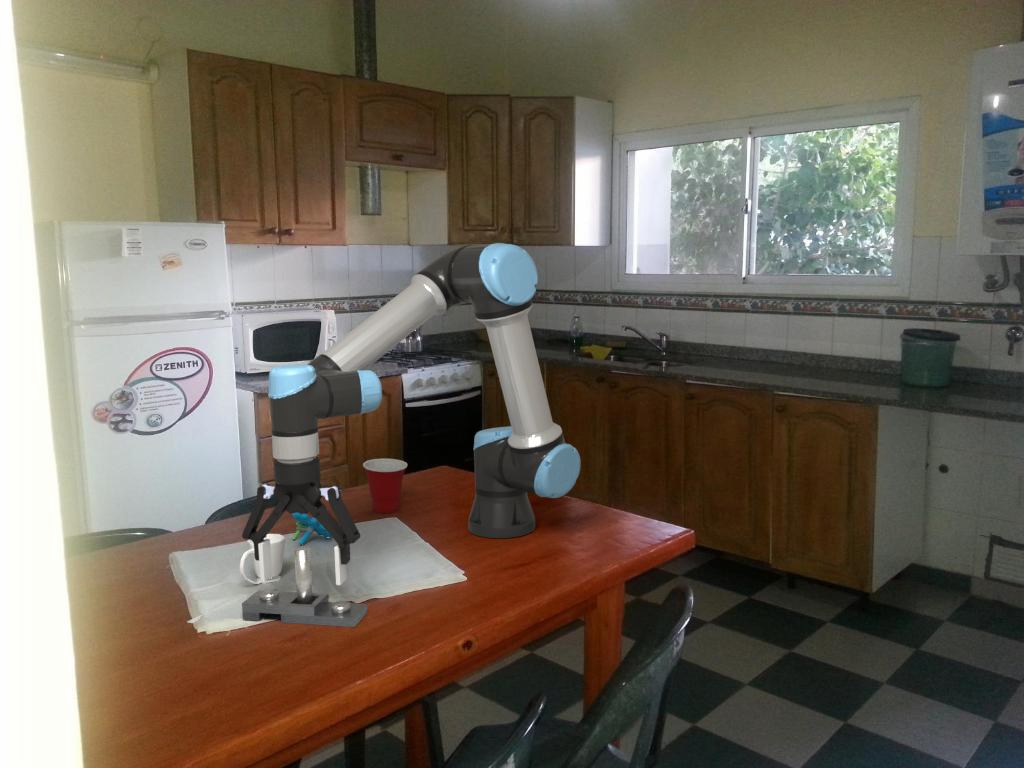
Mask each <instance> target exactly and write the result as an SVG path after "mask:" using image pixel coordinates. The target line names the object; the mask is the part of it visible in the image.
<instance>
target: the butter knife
mask: <svg viewBox="0 0 1024 768" xmlns="http://www.w3.org/2000/svg"><path fill="white" fill-rule="evenodd" d="M237 595H238V596H237ZM237 595H235V596H233V597H230V598H231V599H230V598H229V600H228V599H226V600H227V601H226V600H225V601H223V602H221V603H218V604H217V605H215V606H213V607H214V608H213V607H211V609H212V610H210V609H209V612H210V611H215V610H218V611H220V610H223V609H225V608H227V607H229V606H228V605H230V604H231V603H234V604H236V603H237V602H236V601H238V600H239V599H242V598H244V596H245V595H247V594H246V593H241V594H237ZM244 599H245V598H244ZM242 600H243V599H242ZM235 602H236V603H235ZM238 602H239V601H238ZM226 606H227V607H226ZM230 606H231V605H230ZM224 607H225V608H224ZM222 608H223V609H222ZM219 609H220V610H219ZM209 612H208V613H209ZM204 615H206V614H204ZM201 616H202V615H201V614H199V615H197V616H196V617H194V618H191V619H190V620H187V622H186V623H190V624H193V623H195V622H197V621H199V620H200V617H201ZM198 619H199V620H198Z"/></svg>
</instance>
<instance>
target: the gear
mask: <svg viewBox="0 0 1024 768" xmlns="http://www.w3.org/2000/svg"><path fill="white" fill-rule="evenodd" d="M292 517H293V519H294V520H295V521H296V523H295V526H296V528H295V529H296V532H295V533H294V535H293V536H292V537H291V540H292V539H294V538H296V539H297V537H298V536H299V534H300V533H303V536H302V537H301V539H300V541H299V542H298V545H300V544H303V543H304V544H305V543H306V542H307V539H309V537H310V535H313V533H316V534H317V535H318V536H319V535H323V537H324V536H325V538H326V537H330V538H329V539H333V538H332V536H331V535H330V534H329V533H328V532H327V531H326V529H325V528H324V527H323V526H322V525H321V524H320V522H319V521H318V520H317V519H316V518H315V517H312V518H311V517H310V516H309V514H308V513H307V514H300V513H293V514H292Z"/></svg>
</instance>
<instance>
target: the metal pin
mask: <svg viewBox="0 0 1024 768" xmlns="http://www.w3.org/2000/svg"><path fill="white" fill-rule="evenodd" d="M293 553H294V554H293V556H294V572H295V575H294V576H295V588H296V590H295V592H297V604H309V605H311V604H312V603H313V596H312V593H313V583H312V582H313V581H312V564H311V563H312V562H311V547H310V546H308V545H307V546H306V545H305V546H304V545H303V546H302V545H300V546H297V547H295V548H293Z"/></svg>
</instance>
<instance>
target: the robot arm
mask: <svg viewBox="0 0 1024 768" xmlns="http://www.w3.org/2000/svg"><path fill="white" fill-rule="evenodd" d="M538 284H539V273H538V269H537V266H536V263H535V261H534V259H533V257H532V256H531V254H529V253H528V252H527V251H526V250H525V249H524V248H522V247H520V246H518V245H515V244H511V243H504V242H503V243H502V242H496V243H487V244H486V243H485V244H477V245H475V244H474V245H471V244H470V245H469V244H468V245H462V246H458V247H455V248H453V249H451V250H449V251H447V252H445V253H444V254H442V255H441V256H439V257H437V258H436V259H434V260H433V261H432V262H430V263H429V264H428V265H426V266H425V267H424V268H422V269H421V270H419V271H418V272H417V273H416V274H414V276H412V277H411V280H410V285H409V286H407V287H406V288H405V289H403V290H402V291H401V292H399V293H398V294H397V295H396V296H394V297H393V298H391V300H389V301H388V302H386V303H385V304H384V305H383V306H381V307H380V308H379V309H378V310H376V311H374V313H372V314H371V315H370V316H369V317H367V318H366V319H365V320H363V321H362V322H361V323H359V324H358V325H357V326H356V327H354V328H352V330H351V331H349V332H348V333H346V334H345V335H344V336H343V337H340V339H339V340H337V341H336V342H335V343H333V344H332V345H331V346H330V347H328V348H327V349H326V350H324V351H323V352H322V353H320V354H319V355H318V356H316V357H315V358H314V359H313V360H310V362H308V363H306V364H284V365H279V366H278V365H277V366H275V367H273V368H271V369H270V371H269V373H268V393H267V395H268V398H269V408H270V409H269V410H270V421H271V424H270V425H271V441H272V442H271V443H272V447H271V448H272V458H273V459H275V460H274V461H273V476H274V477H273V478H274V482H275V484H274V485H275V486H271V484H269V483H264V484H262V485H259V487H257V489H256V500H255V502H254V505H253V508H252V510H251V512H250V514H249V517H248V519H247V522H246V524H245V527H244V530H243V531H242V534H241V537H242V539H243V540H252V541H253V543H254V554H255V559H256V560H257V561H259V563H260V579H261V581H266V580H267V579H268V578H270V577H271V576H272V566H271V550H270V539H265V540H264V538H265V537H267V536H266V535H267V534H270V532H271V530H272V529H273V528H274V526H275V525H276V524H277V523H278V521H279V520H280V519H281V518H282V516H283V515H284V514H285V513H286V512H287V513H288V514H289V515H291V514H293V513H300V514H307V515H308V514H310V516H312V518H315V519H317V520H318V521H317V522H318V523H319V524H320V525H322V526H323V527H324V528H325V529H326V531H327V532H328V533H329V534H330V535H331V536H332V538H331V539H333V540H334V542H336V545H335V546H334V547H333V549H334V565H335V566H334V569H335V570H334V571H335V585H336V586H341V585H342V584H343V583H344V582H346V580H347V565H348V564H349V563H350V562H351V544H352V545H353V544H355V543H356V542H357V541H358V540H359V539H360V538H361V533H360V531H359V529H358V528H357V526H356V523H355V521H354V520H353V518H352V516H351V513H350V512H349V510H348V508H347V507H346V505H345V503H344V501H343V498H342V495H341V494H342V493H341V489H340V486H339V485H337V484H336V485H333V486H332V487H323V486H322V483H321V481H322V478H321V477H322V476H321V475H322V473H321V459H320V458H319V456H318V455H320V443H319V442H320V441H319V420H325V419H333V418H338V417H346V416H354V415H363V414H366V413H370V412H374V411H376V410H378V408H379V407H380V406H381V403H382V400H383V386H382V383H381V380H380V378H379V376H378V375H377V374H376V373H375V372H374V371H373V370H369V369H368V368H369V367H370V366H372V365H373V364H374V363H375V362H377V361H378V360H379V359H381V358H382V357H383V356H384V355H385V354H387V353H388V352H389V351H390V350H392V349H393V348H394V347H395V346H397V345H398V344H399V343H400V342H402V341H403V340H404V339H405V338H407V337H408V336H409V335H410V334H412V333H413V332H414V331H415V330H417V329H418V328H419V327H421V325H423V324H424V323H425V322H427V321H428V320H429V319H430V318H432V317H433V316H434V315H435V316H442V315H444V314H445V313H446V312H447V311H449V310H450V309H452V308H454V307H456V306H460V305H464V304H472V309H473V313H474V317H475V320H477V321H478V322H480V323H482V324H483V325H484V326H485V328H486V331H487V332H486V333H487V335H488V339H489V344H490V347H491V351H492V356H493V359H494V363H495V367H496V370H497V371H496V372H497V376H498V379H499V383H500V388H501V390H502V396H503V399H504V403H505V407H506V410H507V414H508V420H509V423H510V425H509V426H500V427H499V426H498V427H492V428H491V427H490V428H487V429H482V430H479V431H477V432H476V434H475V435H474V440H473V442H474V443H473V462H474V464H473V465H474V483H475V484H474V487H475V494H474V495H475V497H474V499H473V503H472V506H471V510H470V513H469V516H468V531H469V532H470V533H471V534H473V535H475V536H479V537H482V538H487V539H510V538H511V539H512V538H517V537H518V538H519V537H521V536H525V535H528V534H531V533H533V532H534V531H535V529H536V517H535V513H534V510H533V508H532V505H531V503H530V500H529V497H528V493H529V494H534V495H537V496H539V497H540V498H551V499H556V498H561V497H563V496H565V495H566V494H568V493H569V492H570V491H571V490H572V488H573V487H574V486H575V484H576V482H577V479H578V478H579V475H580V471H581V462H582V461H581V457H580V456H581V455H580V454H579V452H578V450H577V448H576V447H574V446H573V445H571V444H570V443H566V441H565V438H564V437H565V436H564V433H563V429H562V427H561V426H560V425H559V424H557V423H555V422H554V421H553V418H552V414H551V413H552V412H551V409H550V405H549V400H548V397H547V393H546V392H547V391H546V388H545V384H544V380H543V376H542V373H541V372H542V371H541V368H540V364H539V359H538V356H537V355H538V354H537V350H536V346H535V343H534V338H533V333H532V328H531V325H530V322H529V316H528V314H529V312H530V311H531V309H532V307H533V306H534V305H533V300H532V298H533V297H534V296H535V294H536V291H537V288H536V287H537V286H538ZM367 369H368V370H367ZM273 496H274V497H275V499H276V500H277V501H278V504H277V505H275V507H274V509H273V510H272V512H271V513H270V514H269V516H268V517H267V518H266V519H265V521H264V522H263V524H261V526H260V528H259V525H260V523H261V520H262V519H263V515H264V513H265V511H266V508H267V506H268V504H269V501H270V499H271V498H272V497H273ZM322 497H324V498H325V500H326V501H327V502H328V504H329V506H330V509H331V511H332V512H333V514H334V516H335V518H336V519H335V518H334V517H333V515H332V514H331V512H330V511H328V509H327V507H326V504H324V503H323V502H322V500H321V499H322ZM258 528H259V529H258Z"/></svg>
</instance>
